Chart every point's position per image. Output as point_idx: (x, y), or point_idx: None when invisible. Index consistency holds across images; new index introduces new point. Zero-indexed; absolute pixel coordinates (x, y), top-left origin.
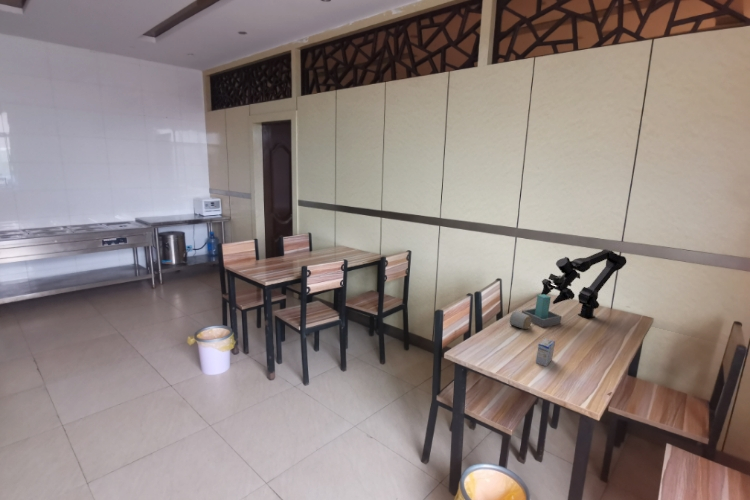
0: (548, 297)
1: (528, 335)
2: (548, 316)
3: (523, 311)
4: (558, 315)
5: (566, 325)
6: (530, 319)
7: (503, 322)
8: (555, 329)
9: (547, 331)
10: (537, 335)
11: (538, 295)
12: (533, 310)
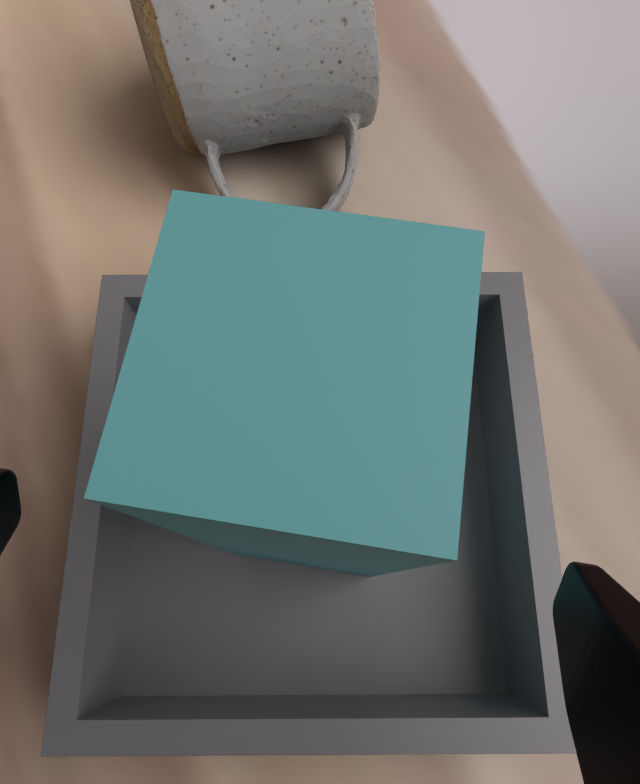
0: (118, 394)
1: (76, 53)
2: (320, 698)
3: (487, 273)
4: (101, 730)
5: (5, 757)
6: (150, 66)
7: (426, 51)
8: (12, 446)
9: (32, 299)
10: (28, 125)
11: (427, 229)
12: (515, 517)
